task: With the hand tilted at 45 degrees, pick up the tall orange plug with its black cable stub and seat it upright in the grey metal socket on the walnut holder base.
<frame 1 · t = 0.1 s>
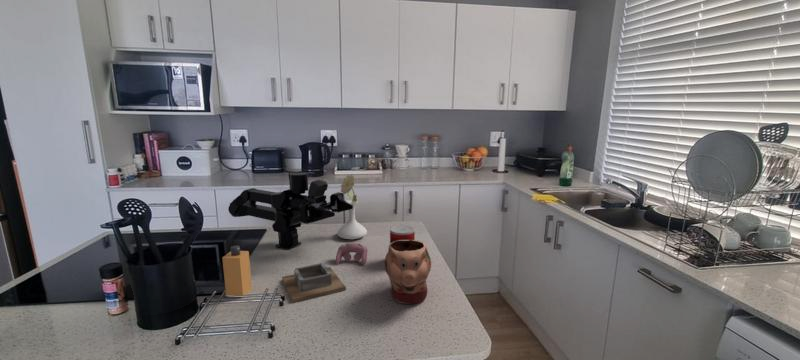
hand: (343, 210, 114), 17 cm above the worktop, tool horizontal, fingers open, 9 cm apart
decorative planter: (407, 293, 97), on the worktop
canned food: (402, 262, 116), on the worktop
flower in vase: (352, 237, 137), on the worktop
video game controller: (351, 262, 116), on the worktop
plug: (239, 293, 96), on the worktop
holder: (313, 285, 100), on the worktop
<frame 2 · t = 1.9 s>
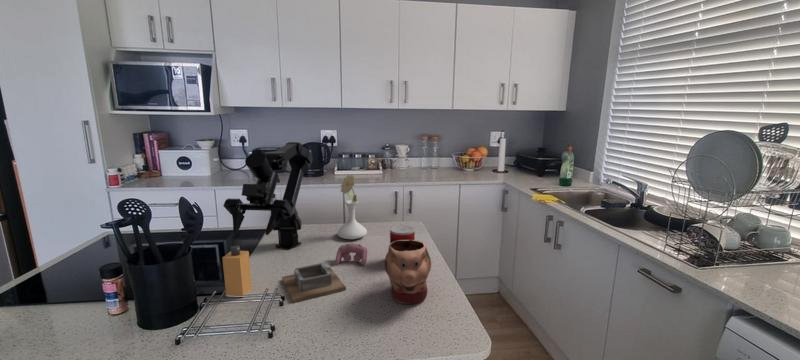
hand: (250, 234, 101), 14 cm above the worktop, tool tilted 45°, fingers open, 9 cm apart
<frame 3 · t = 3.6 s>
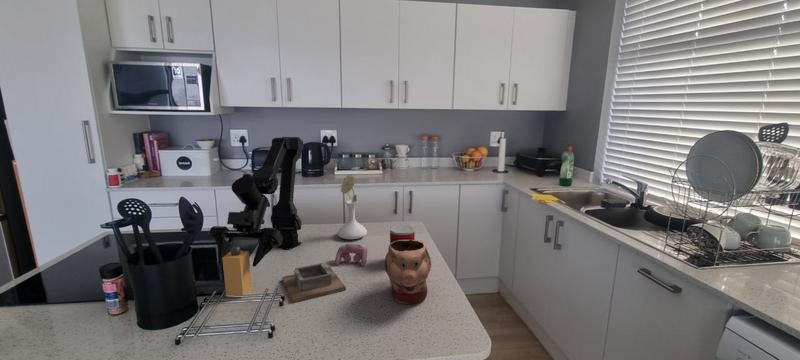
hand: (236, 265, 94), 8 cm above the worktop, tool tilted 45°, fingers open, 9 cm apart
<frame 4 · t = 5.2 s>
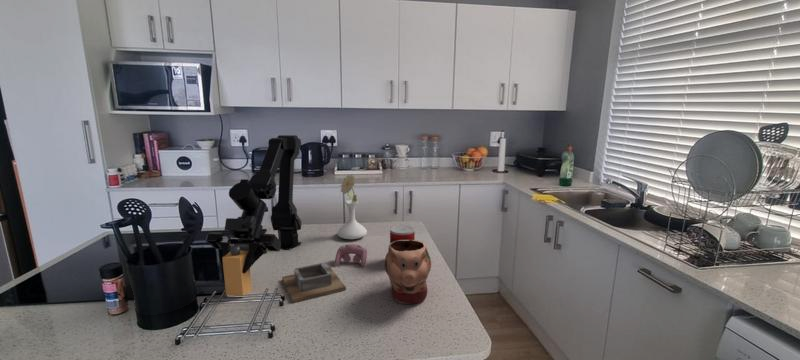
hand: (234, 272, 93), 7 cm above the worktop, tool tilted 45°, fingers closed on plug, 5 cm apart
plug: (239, 293, 96), on the worktop, touching gripper
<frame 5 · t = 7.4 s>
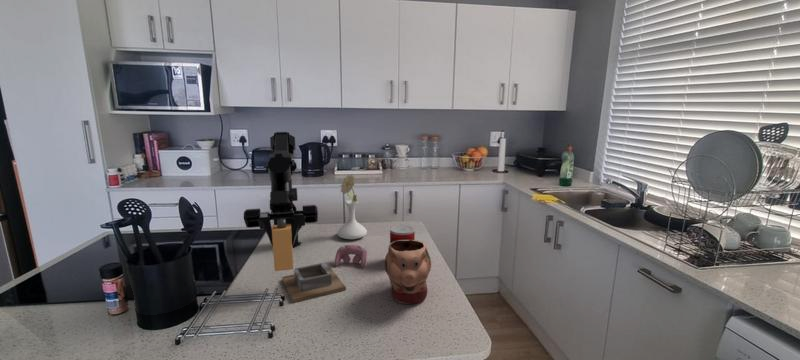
hand: (282, 244, 93), 13 cm above the worktop, tool tilted 45°, fingers closed on plug, 5 cm apart
plug: (284, 266, 96), point 7 cm above the worktop, touching gripper
when the fingers open (9 cm above the worktop, at t = 9.8 s): plug drops 1 cm, resting on holder.
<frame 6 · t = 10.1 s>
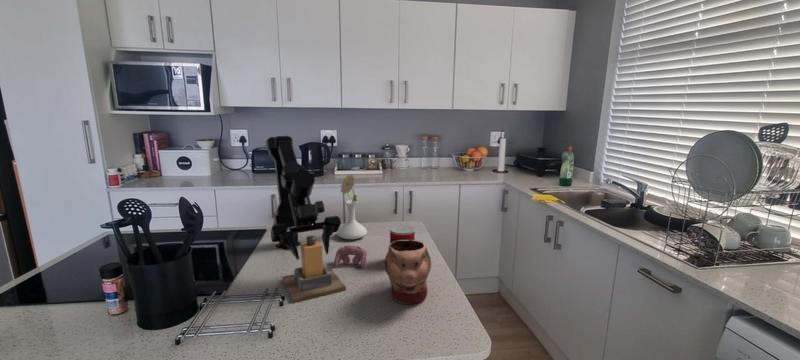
hand: (313, 256, 97), 9 cm above the worktop, tool tilted 45°, fingers open, 8 cm apart
plug: (312, 281, 100), point 1 cm above the worktop, touching holder
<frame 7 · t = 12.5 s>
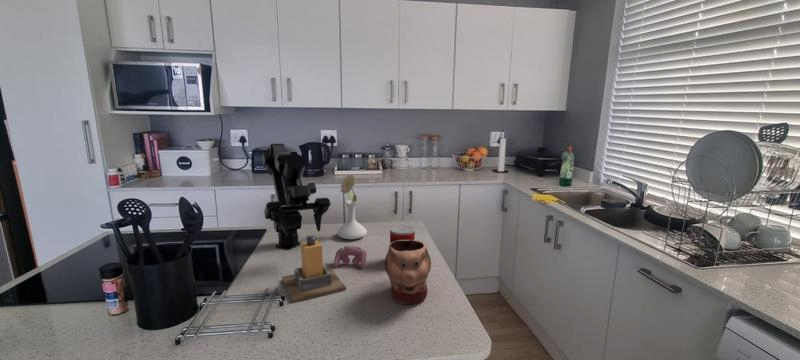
hand: (303, 233, 105), 12 cm above the worktop, tool tilted 45°, fingers open, 9 cm apart
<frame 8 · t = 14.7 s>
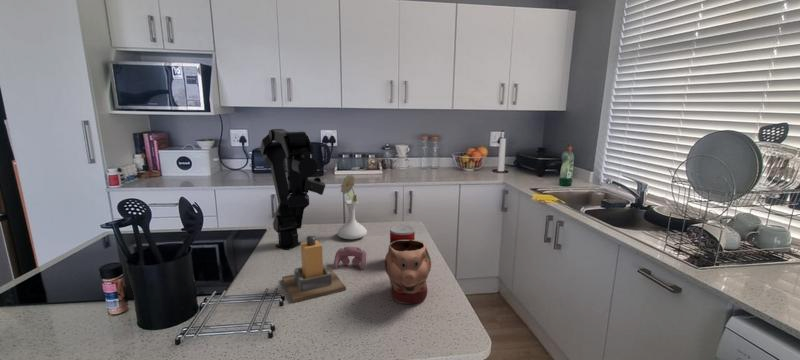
hand: (299, 220, 116), 13 cm above the worktop, tool pointing down, fingers open, 9 cm apart
at the end: plug 0.1 cm off-centre on the holder, point 1.0 cm above the holder's base; plug tilted 0°; the gripper is holding nothing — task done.
